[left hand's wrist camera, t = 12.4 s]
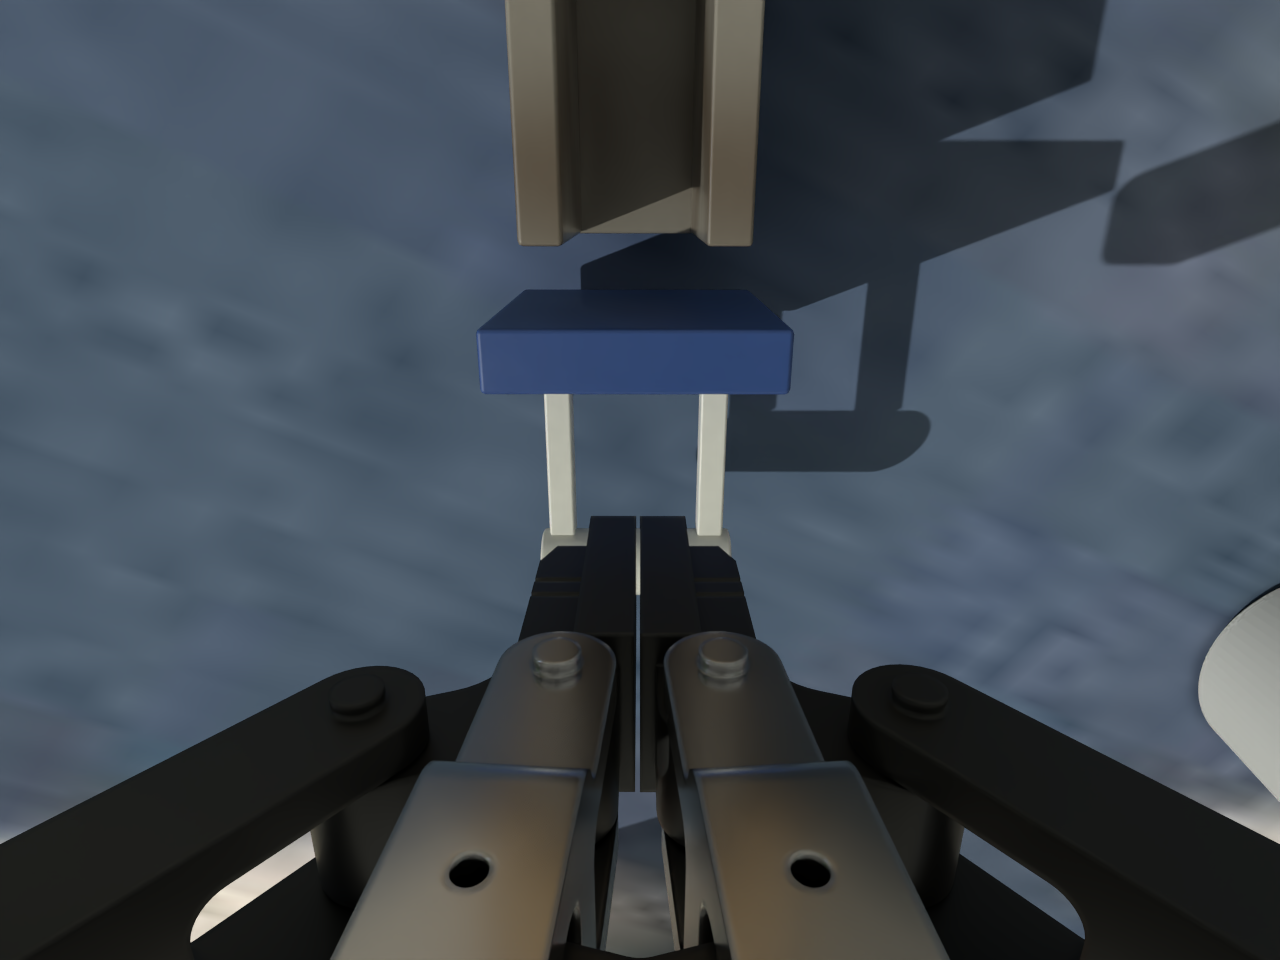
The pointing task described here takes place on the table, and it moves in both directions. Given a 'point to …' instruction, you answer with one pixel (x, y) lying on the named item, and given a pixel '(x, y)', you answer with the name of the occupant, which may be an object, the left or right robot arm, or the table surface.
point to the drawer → (635, 221)
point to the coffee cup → (1247, 688)
